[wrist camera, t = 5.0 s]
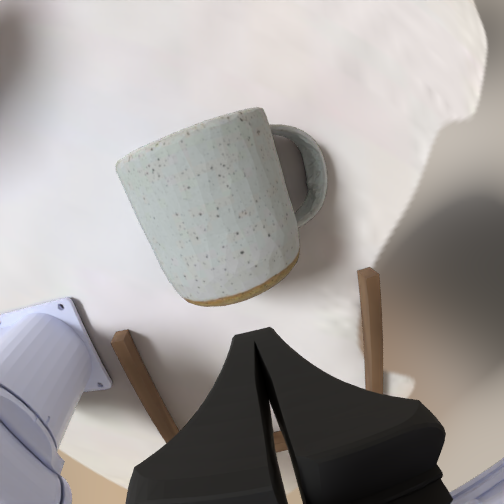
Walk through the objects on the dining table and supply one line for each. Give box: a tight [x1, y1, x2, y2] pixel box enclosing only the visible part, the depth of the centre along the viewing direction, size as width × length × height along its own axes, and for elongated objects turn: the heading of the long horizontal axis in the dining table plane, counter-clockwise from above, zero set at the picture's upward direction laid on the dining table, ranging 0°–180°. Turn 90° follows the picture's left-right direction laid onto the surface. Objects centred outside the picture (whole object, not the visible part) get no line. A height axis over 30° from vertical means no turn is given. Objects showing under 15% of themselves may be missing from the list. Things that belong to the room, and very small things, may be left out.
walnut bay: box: [111, 267, 383, 452], centre depth 23 cm, size 19×15×2 cm
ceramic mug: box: [116, 107, 328, 307], centre depth 16 cm, size 11×8×8 cm
